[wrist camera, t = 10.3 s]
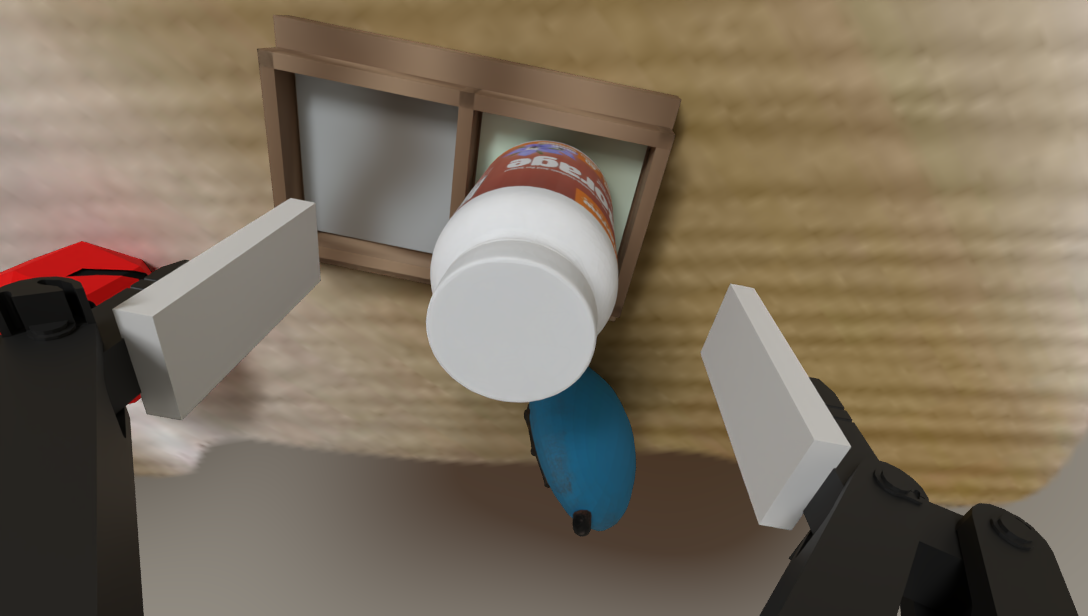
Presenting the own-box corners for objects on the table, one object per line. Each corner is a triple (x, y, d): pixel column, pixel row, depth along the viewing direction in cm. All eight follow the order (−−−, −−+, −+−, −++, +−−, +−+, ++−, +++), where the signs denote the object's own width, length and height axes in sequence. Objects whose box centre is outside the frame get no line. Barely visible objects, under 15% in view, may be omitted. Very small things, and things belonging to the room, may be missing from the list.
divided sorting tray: (306, 248, 27) (279, 269, 24) (289, 15, 21) (251, 14, 19) (613, 310, 27) (615, 337, 25) (677, 96, 21) (687, 105, 19)
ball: (233, 335, 30) (133, 423, 24) (135, 362, 32) (17, 450, 26) (144, 216, 27) (-4, 280, 20) (40, 254, 28) (-127, 323, 22)
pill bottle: (639, 183, 22) (677, 308, 12) (567, 287, 25) (553, 453, 15) (517, 107, 21) (454, 181, 11) (456, 226, 24) (366, 364, 14)
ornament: (513, 353, 29) (478, 493, 20) (580, 319, 27) (574, 456, 19) (585, 443, 32) (582, 598, 23) (649, 418, 31) (671, 574, 22)
